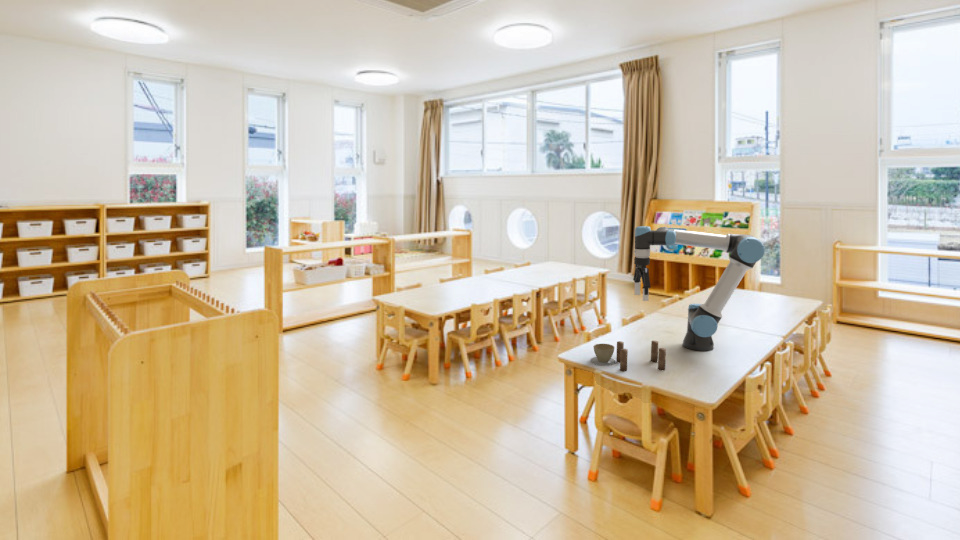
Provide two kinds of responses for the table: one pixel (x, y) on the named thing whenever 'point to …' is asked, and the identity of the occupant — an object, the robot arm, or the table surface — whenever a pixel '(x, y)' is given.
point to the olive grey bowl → (603, 352)
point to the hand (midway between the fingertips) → (641, 297)
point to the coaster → (596, 361)
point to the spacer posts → (661, 358)
